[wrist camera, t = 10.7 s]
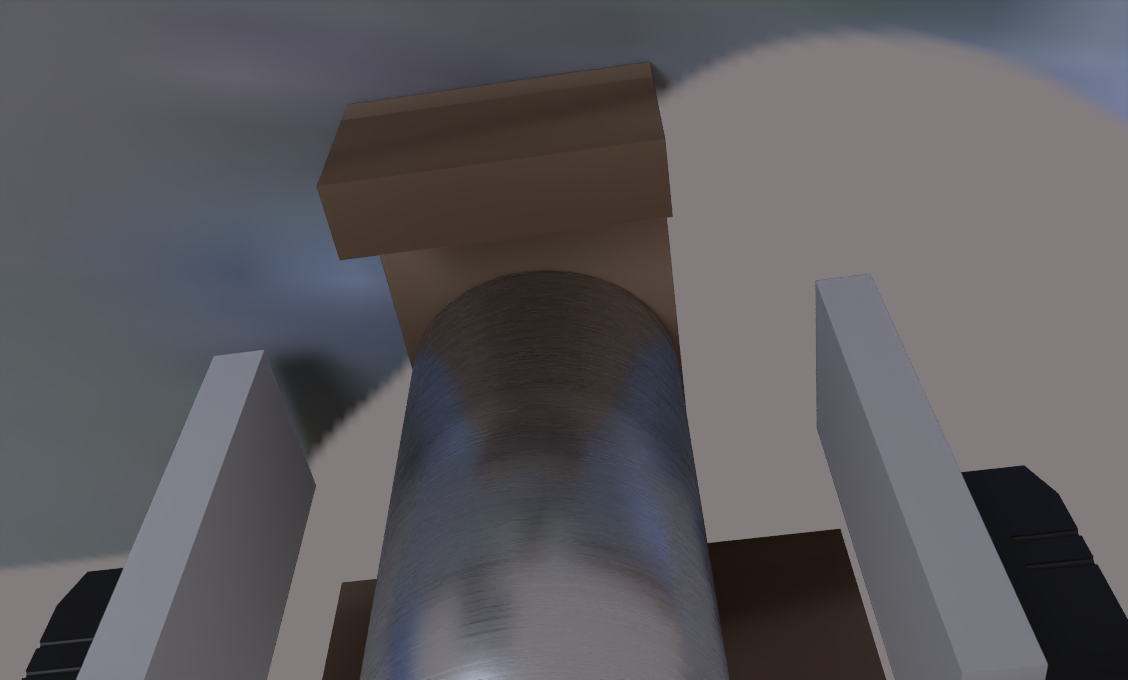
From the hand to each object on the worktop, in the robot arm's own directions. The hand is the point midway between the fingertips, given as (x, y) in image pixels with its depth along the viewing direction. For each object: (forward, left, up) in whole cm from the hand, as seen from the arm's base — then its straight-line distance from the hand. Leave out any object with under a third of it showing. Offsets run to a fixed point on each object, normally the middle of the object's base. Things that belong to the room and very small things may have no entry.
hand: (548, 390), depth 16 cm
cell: (0, 0, 0) cm, 0 cm away
